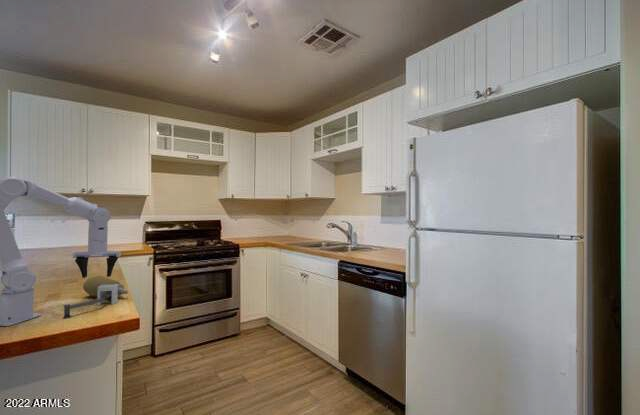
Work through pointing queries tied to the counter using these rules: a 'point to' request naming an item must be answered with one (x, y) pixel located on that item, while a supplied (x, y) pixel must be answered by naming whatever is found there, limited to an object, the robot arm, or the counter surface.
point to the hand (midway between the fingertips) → (97, 276)
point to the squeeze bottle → (95, 282)
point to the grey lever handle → (68, 306)
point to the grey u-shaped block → (108, 288)
